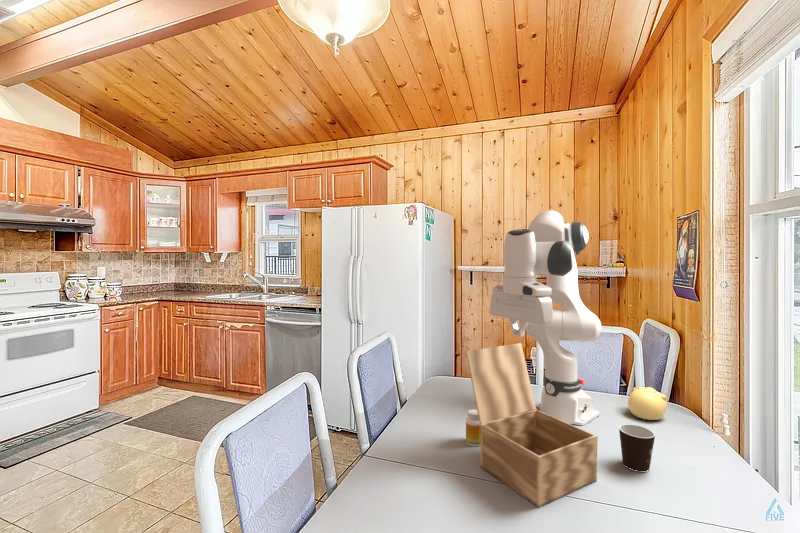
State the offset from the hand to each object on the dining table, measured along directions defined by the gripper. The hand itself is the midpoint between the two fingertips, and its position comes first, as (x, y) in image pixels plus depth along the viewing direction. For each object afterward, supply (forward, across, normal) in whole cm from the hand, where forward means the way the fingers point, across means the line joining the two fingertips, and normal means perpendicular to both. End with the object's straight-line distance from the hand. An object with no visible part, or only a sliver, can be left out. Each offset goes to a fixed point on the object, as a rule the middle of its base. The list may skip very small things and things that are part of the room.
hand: (518, 335), depth 110 cm
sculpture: (+37, +1, +65) cm, 75 cm away
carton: (+36, +7, 0) cm, 37 cm away
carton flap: (+15, -6, 0) cm, 16 cm away
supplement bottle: (+37, -15, -3) cm, 40 cm away
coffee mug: (+37, +18, +29) cm, 50 cm away
